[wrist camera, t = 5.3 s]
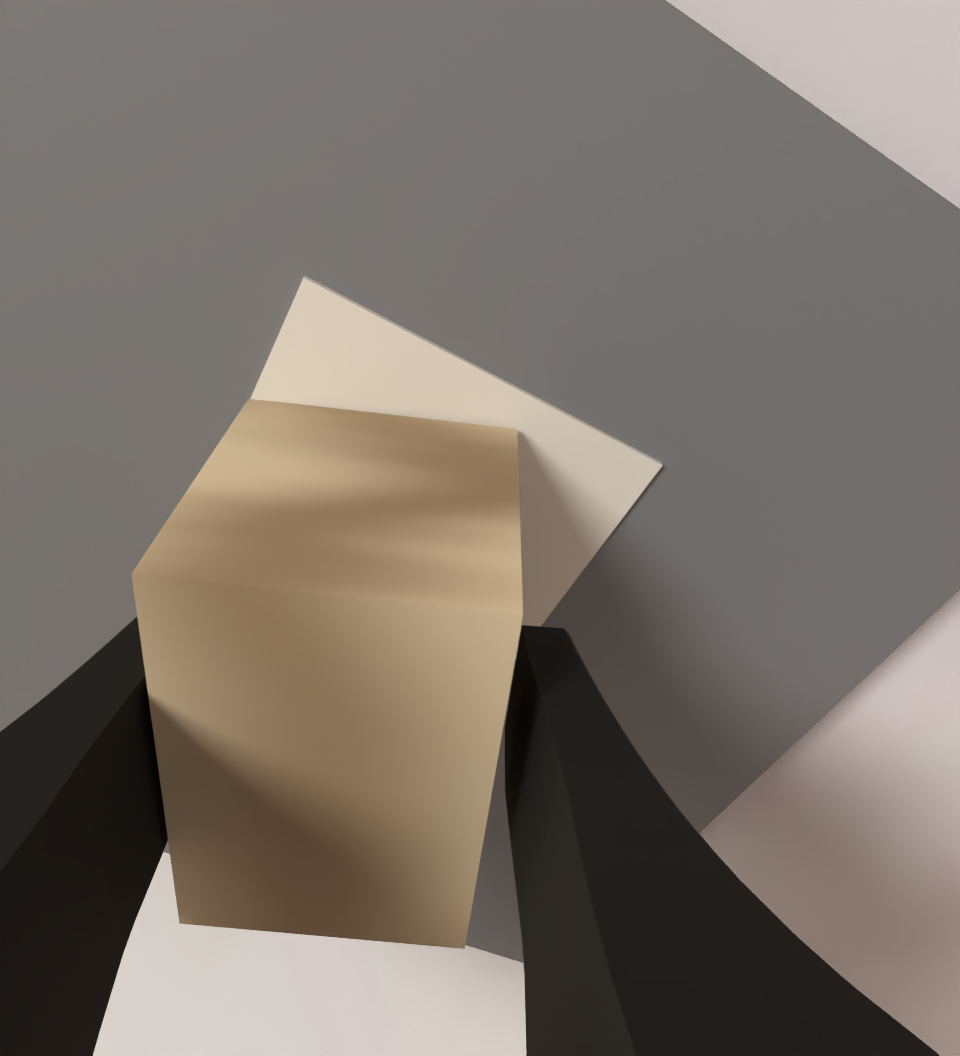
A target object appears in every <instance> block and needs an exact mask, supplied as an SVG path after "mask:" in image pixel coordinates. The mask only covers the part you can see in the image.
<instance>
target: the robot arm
mask: <svg viewBox="0 0 960 1056" xmlns="http://www.w3.org/2000/svg"><path fill="white" fill-rule="evenodd" d="M505 797H506V806H507V815H508V824H509V833H510V841H511V850H512V859H513V867H514V876H515V884H516V893H517V901H518V910H519V918H520V927H521V935H522V946H523V959H524V972H525V1009H526V1050H527V1056H939V1055H938V1053H936V1052H935V1051H934V1050H933V1049H931V1048H930V1047H929V1046H928V1045H926V1044H925V1043H924V1042H922V1041H921V1040H920V1039H919V1038H917V1037H916V1036H915V1035H914V1034H912V1033H911V1032H910V1031H909V1030H907V1029H906V1028H905V1027H904V1026H902V1025H901V1024H900V1023H899V1022H897V1021H896V1020H895V1019H894V1018H892V1017H891V1016H890V1015H889V1014H887V1013H886V1012H885V1011H883V1010H882V1009H881V1008H880V1007H878V1006H877V1005H876V1004H875V1003H873V1002H872V1001H871V1000H870V999H868V998H867V997H866V996H865V995H863V994H862V993H861V992H860V991H858V990H857V989H856V988H855V987H853V986H852V985H851V984H850V983H849V982H848V981H846V980H845V979H844V978H843V977H842V976H841V975H839V974H838V973H837V972H836V971H835V970H834V969H833V968H832V967H830V966H829V965H828V964H827V963H826V962H825V961H824V960H823V959H821V958H820V957H819V956H818V955H817V954H816V953H815V952H814V951H812V950H811V949H810V948H809V947H808V946H807V945H806V944H805V943H803V942H802V941H801V940H800V939H799V938H798V937H797V936H796V935H795V934H794V933H793V932H792V931H791V930H790V929H789V928H788V927H787V926H786V925H785V924H784V923H783V922H782V921H781V920H780V919H779V918H778V917H777V916H776V915H775V914H774V913H773V912H772V911H771V910H770V909H769V908H768V907H767V906H766V905H764V904H763V903H762V902H761V901H760V900H759V899H758V898H757V897H756V896H755V895H754V894H753V893H752V892H751V891H750V890H749V889H748V888H747V887H746V886H745V885H744V884H743V883H742V882H741V881H740V880H739V878H738V877H737V876H736V875H735V874H734V873H733V872H732V871H731V870H730V868H729V867H728V866H727V865H726V864H725V863H724V862H723V861H722V860H721V859H720V857H719V856H718V855H717V854H716V853H715V852H714V851H713V850H712V849H711V847H710V846H709V845H708V844H707V843H706V841H705V840H704V839H703V838H702V837H701V835H700V834H699V833H698V832H697V831H696V830H695V828H694V827H693V826H692V825H691V824H690V822H689V821H688V820H687V819H686V817H685V816H684V815H683V814H682V812H681V811H680V810H679V809H678V807H677V806H676V805H675V803H674V802H673V801H672V799H671V798H670V797H669V796H668V794H667V793H666V792H665V790H664V789H663V787H662V786H661V785H660V783H659V782H658V781H657V779H656V778H655V776H654V775H653V774H652V772H651V771H650V770H649V768H648V767H647V765H646V764H645V762H644V761H643V760H642V758H641V757H640V755H639V754H638V752H637V751H636V749H635V748H634V746H633V745H632V743H631V742H630V740H629V739H628V737H627V735H626V734H625V732H624V731H623V729H622V728H621V726H620V724H619V723H618V721H617V720H616V718H615V717H614V715H613V713H612V712H611V710H610V708H609V707H608V705H607V703H606V702H605V700H604V698H603V697H602V695H601V693H600V691H599V690H598V688H597V686H596V684H595V683H594V681H593V679H592V677H591V676H590V674H589V672H588V670H587V668H586V666H585V664H584V663H583V661H582V659H581V657H580V655H579V653H578V651H577V649H576V647H575V645H574V643H573V641H572V639H571V636H570V635H569V634H568V632H567V631H566V630H565V629H564V628H554V627H540V626H527V625H522V627H521V633H520V639H519V645H518V651H517V657H516V663H515V669H514V675H513V681H512V687H511V693H510V699H509V705H508V711H507V717H506V723H505ZM167 841H168V835H167V828H166V821H165V813H164V806H163V799H162V792H161V784H160V777H159V770H158V763H157V755H156V748H155V741H154V734H153V726H152V719H151V712H150V705H149V697H148V690H147V683H146V676H145V668H144V661H143V654H142V647H141V639H140V632H139V625H138V618H137V617H135V618H134V619H133V620H132V621H131V622H130V623H129V624H128V625H127V626H125V627H124V628H123V629H122V630H121V631H120V632H119V633H118V634H117V635H116V636H114V637H113V638H112V639H111V640H110V641H109V642H108V643H107V644H105V645H104V646H103V647H102V648H101V649H100V650H99V651H98V652H96V653H95V654H94V655H93V656H92V657H91V658H90V659H89V660H87V661H86V662H85V663H84V664H83V665H82V666H80V667H79V668H78V669H77V670H76V671H75V672H73V673H72V674H71V675H70V676H69V677H68V678H66V679H65V680H64V681H63V682H62V683H60V684H59V685H58V686H57V687H56V688H55V689H53V690H52V691H51V692H50V693H49V694H48V695H46V696H45V697H44V698H43V699H41V700H40V701H39V702H38V703H36V704H35V705H34V706H33V707H31V708H30V709H29V710H28V711H26V712H25V713H24V714H22V715H21V716H20V717H19V718H17V719H16V720H15V721H13V722H12V723H11V724H9V725H8V726H7V727H6V728H4V729H3V730H2V731H0V1056H93V1052H94V1049H95V1045H96V1042H97V1038H98V1035H99V1031H100V1028H101V1025H102V1021H103V1018H104V1015H105V1011H106V1008H107V1005H108V1001H109V998H110V995H111V991H112V988H113V985H114V982H115V978H116V975H117V972H118V968H119V965H120V962H121V958H122V955H123V952H124V950H125V947H126V944H127V941H128V939H129V936H130V933H131V930H132V928H133V925H134V922H135V919H136V917H137V915H138V912H139V910H140V907H141V905H142V902H143V900H144V897H145V895H146V893H147V890H148V888H149V885H150V883H151V880H152V878H153V876H154V873H155V871H156V868H157V866H158V863H159V861H160V859H161V856H162V854H163V851H164V849H165V846H166V844H167Z"/></svg>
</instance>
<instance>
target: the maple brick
mask: <svg viewBox="0 0 960 1056" xmlns="http://www.w3.org/2000/svg"><path fill="white" fill-rule="evenodd" d="M132 581H133V589H134V596H135V603H136V610H137V618H138V625H139V632H140V639H141V647H142V654H143V661H144V668H145V676H146V683H147V690H148V697H149V705H150V712H151V719H152V726H153V734H154V741H155V748H156V755H157V763H158V770H159V777H160V784H161V792H162V799H163V806H164V813H165V821H166V828H167V835H168V842H169V850H170V857H171V864H172V871H173V879H174V886H175V893H176V900H177V907H178V915H179V922H180V923H181V924H192V925H204V926H215V927H226V928H238V929H249V930H260V931H271V932H283V933H294V934H305V935H317V936H328V937H339V938H350V939H362V940H373V941H384V942H396V943H407V944H418V945H429V946H441V947H452V948H463V949H465V943H466V938H467V932H468V926H469V920H470V915H471V909H472V903H473V898H474V892H475V886H476V880H477V875H478V869H479V863H480V858H481V852H482V846H483V840H484V835H485V829H486V823H487V818H488V812H489V806H490V800H491V795H492V789H493V783H494V778H495V772H496V766H497V760H498V755H499V749H500V743H501V738H502V732H503V726H504V720H505V715H506V709H507V703H508V698H509V692H510V686H511V680H512V675H513V669H514V663H515V658H516V652H517V646H518V640H519V635H520V629H521V623H522V618H523V596H522V564H521V532H520V500H519V468H518V436H517V429H515V428H506V427H497V426H488V425H479V424H470V423H461V422H453V421H444V420H435V419H426V418H417V417H408V416H399V415H390V414H381V413H372V412H364V411H355V410H346V409H337V408H328V407H319V406H310V405H301V404H292V403H283V402H275V401H265V400H255V399H248V400H247V402H246V403H245V405H244V406H243V408H242V409H241V411H240V412H239V414H238V415H237V417H236V418H235V420H234V421H233V423H232V424H231V426H230V427H229V429H228V430H227V432H226V433H225V435H224V436H223V438H222V439H221V441H220V442H219V443H218V445H217V446H216V448H215V449H214V451H213V452H212V454H211V455H210V457H209V458H208V460H207V461H206V463H205V464H204V466H203V467H202V469H201V470H200V472H199V473H198V475H197V476H196V478H195V479H194V481H193V482H192V484H191V485H190V487H189V488H188V490H187V491H186V493H185V494H184V496H183V497H182V499H181V500H180V502H179V503H178V505H177V506H176V508H175V509H174V511H173V512H172V514H171V515H170V517H169V518H168V520H167V521H166V523H165V524H164V526H163V527H162V529H161V530H160V532H159V533H158V535H157V536H156V538H155V539H154V541H153V542H152V544H151V545H150V547H149V548H148V550H147V551H146V553H145V554H144V556H143V557H142V559H141V560H140V562H139V563H138V565H137V566H136V568H135V569H134V571H133V572H132Z"/></svg>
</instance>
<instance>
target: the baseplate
mask: <svg viewBox="0 0 960 1056" xmlns="http://www.w3.org/2000/svg"><path fill="white" fill-rule="evenodd" d="M248 399H255V400H265V401H275V402H283V403H292V404H301V405H310V406H319V407H328V408H337V409H346V410H355V411H364V412H372V413H381V414H390V415H399V416H408V417H417V418H426V419H435V420H444V421H453V422H461V423H470V424H479V425H488V426H497V427H506V428H515V429H517V436H518V468H519V500H520V532H521V564H522V596H523V618H522V623H521V627H522V625H527V626H540V627H554V628H564V629H565V630H566V631H567V632H568V634H569V635H570V636H571V639H572V641H573V643H574V645H575V647H576V649H577V651H578V653H579V655H580V657H581V659H582V661H583V663H584V664H585V666H586V668H587V670H588V672H589V674H590V676H591V677H592V679H593V681H594V683H595V684H596V686H597V688H598V690H599V691H600V693H601V695H602V697H603V698H604V700H605V702H606V703H607V705H608V707H609V708H610V710H611V712H612V713H613V715H614V717H615V718H616V720H617V721H618V723H619V724H620V726H621V728H622V729H623V731H624V732H625V734H626V735H627V737H628V739H629V740H630V742H631V743H632V745H633V746H634V748H635V749H636V751H637V752H638V754H639V755H640V757H641V758H642V760H643V761H644V762H645V764H646V765H647V767H648V768H649V770H650V771H651V772H652V774H653V775H654V776H655V778H656V779H657V781H658V782H659V783H660V785H661V786H662V787H663V789H664V790H665V792H666V793H667V794H668V796H669V797H670V798H671V799H672V801H673V802H674V803H675V805H676V806H677V807H678V809H679V810H680V811H681V812H682V814H683V815H684V816H685V817H686V819H687V820H688V821H689V822H690V824H691V825H692V826H693V827H694V828H695V830H696V831H697V832H698V833H699V832H700V831H701V830H702V829H704V828H705V827H706V826H707V825H708V824H709V823H710V822H711V821H712V820H713V819H714V818H715V817H716V816H717V815H719V814H720V813H721V812H722V811H723V810H724V809H725V808H726V807H727V806H728V805H729V804H730V803H731V802H732V801H733V800H735V799H736V798H737V797H738V796H739V795H740V794H741V793H742V792H743V791H744V790H745V789H746V788H747V787H748V786H750V785H751V784H752V783H753V782H754V781H755V780H756V779H757V778H758V777H759V776H760V775H761V774H762V773H763V772H764V771H766V770H767V769H768V768H769V767H770V766H771V765H772V764H773V763H774V762H775V761H776V760H777V759H778V758H779V757H781V756H782V755H783V754H784V753H785V752H786V751H787V750H788V749H789V748H790V747H791V746H792V745H793V744H794V743H795V742H797V741H798V740H799V739H800V738H801V737H802V736H803V735H804V734H805V733H806V732H807V731H808V730H809V729H810V728H812V727H813V726H814V725H815V724H816V723H817V722H818V721H819V720H820V719H821V718H822V717H823V716H824V715H825V714H826V713H828V712H829V711H830V710H831V709H832V708H833V707H834V706H835V705H836V704H837V703H838V702H839V701H840V700H841V699H843V698H844V697H845V696H846V695H847V694H848V693H849V692H850V691H851V690H852V689H853V688H854V687H855V686H856V685H857V684H859V683H860V682H861V681H862V680H863V679H864V678H865V677H866V676H867V675H868V674H869V673H870V672H871V671H872V670H874V669H875V668H876V667H877V666H878V665H879V664H880V663H881V662H882V661H883V660H884V659H885V658H886V657H887V656H888V655H890V654H891V653H892V652H893V651H894V650H895V649H896V648H897V647H898V646H899V645H900V644H901V643H902V642H903V641H905V640H906V639H907V638H908V637H909V636H910V635H911V634H912V633H913V632H914V631H915V630H916V629H917V628H918V627H919V626H921V625H922V624H923V623H924V622H925V621H926V620H927V619H928V618H929V617H930V616H931V615H932V614H933V613H934V612H936V611H937V610H938V609H939V608H940V607H941V606H942V605H943V604H944V603H945V602H946V601H947V600H948V599H949V598H950V597H952V596H953V595H954V594H955V593H956V592H957V591H958V590H959V589H960V209H959V208H958V207H956V206H955V205H953V204H952V203H951V202H949V201H948V200H946V199H945V198H944V197H942V196H941V195H939V194H938V193H937V192H935V191H934V190H932V189H931V188H929V187H928V186H927V185H925V184H924V183H922V182H921V181H920V180H918V179H917V178H915V177H914V176H913V175H911V174H910V173H908V172H907V171H905V170H904V169H903V168H901V167H900V166H898V165H897V164H896V163H894V162H893V161H891V160H890V159H889V158H887V157H886V156H884V155H883V154H882V153H880V152H879V151H877V150H876V149H874V148H873V147H872V146H870V145H869V144H867V143H866V142H865V141H863V140H862V139H860V138H859V137H858V136H856V135H855V134H853V133H852V132H850V131H849V130H848V129H846V128H845V127H843V126H842V125H841V124H839V123H838V122H836V121H835V120H834V119H832V118H831V117H829V116H828V115H826V114H825V113H824V112H822V111H821V110H819V109H818V108H817V107H815V106H814V105H812V104H811V103H810V102H808V101H807V100H805V99H804V98H802V97H801V96H800V95H798V94H797V93H795V92H794V91H793V90H791V89H790V88H788V87H787V86H786V85H784V84H783V83H781V82H780V81H778V80H777V79H776V78H774V77H773V76H771V75H770V74H769V73H767V72H766V71H764V70H763V69H762V68H760V67H759V66H757V65H756V64H755V63H753V62H752V61H750V60H749V59H747V58H746V57H745V56H743V55H742V54H740V53H739V52H738V51H736V50H735V49H733V48H732V47H731V46H729V45H728V44H726V43H725V42H723V41H722V40H721V39H719V38H718V37H716V36H715V35H714V34H712V33H711V32H709V31H708V30H707V29H705V28H704V27H702V26H701V25H699V24H698V23H697V22H695V21H694V20H692V19H691V18H690V17H688V16H687V15H685V14H684V13H683V12H681V11H680V10H678V9H677V8H675V7H674V6H673V5H671V4H670V3H668V2H667V1H666V0H0V731H2V730H3V729H4V728H6V727H7V726H8V725H9V724H11V723H12V722H13V721H15V720H16V719H17V718H19V717H20V716H21V715H22V714H24V713H25V712H26V711H28V710H29V709H30V708H31V707H33V706H34V705H35V704H36V703H38V702H39V701H40V700H41V699H43V698H44V697H45V696H46V695H48V694H49V693H50V692H51V691H52V690H53V689H55V688H56V687H57V686H58V685H59V684H60V683H62V682H63V681H64V680H65V679H66V678H68V677H69V676H70V675H71V674H72V673H73V672H75V671H76V670H77V669H78V668H79V667H80V666H82V665H83V664H84V663H85V662H86V661H87V660H89V659H90V658H91V657H92V656H93V655H94V654H95V653H96V652H98V651H99V650H100V649H101V648H102V647H103V646H104V645H105V644H107V643H108V642H109V641H110V640H111V639H112V638H113V637H114V636H116V635H117V634H118V633H119V632H120V631H121V630H122V629H123V628H124V627H125V626H127V625H128V624H129V623H130V622H131V621H132V620H133V619H134V618H135V617H137V610H136V603H135V596H134V589H133V581H132V572H133V571H134V569H135V568H136V566H137V565H138V563H139V562H140V560H141V559H142V557H143V556H144V554H145V553H146V551H147V550H148V548H149V547H150V545H151V544H152V542H153V541H154V539H155V538H156V536H157V535H158V533H159V532H160V530H161V529H162V527H163V526H164V524H165V523H166V521H167V520H168V518H169V517H170V515H171V514H172V512H173V511H174V509H175V508H176V506H177V505H178V503H179V502H180V500H181V499H182V497H183V496H184V494H185V493H186V491H187V490H188V488H189V487H190V485H191V484H192V482H193V481H194V479H195V478H196V476H197V475H198V473H199V472H200V470H201V469H202V467H203V466H204V464H205V463H206V461H207V460H208V458H209V457H210V455H211V454H212V452H213V451H214V449H215V448H216V446H217V445H218V443H219V442H220V441H221V439H222V438H223V436H224V435H225V433H226V432H227V430H228V429H229V427H230V426H231V424H232V423H233V421H234V420H235V418H236V417H237V415H238V414H239V412H240V411H241V409H242V408H243V406H244V405H245V403H246V402H247V400H248ZM520 633H521V629H520ZM519 639H520V635H519ZM518 645H519V640H518ZM517 651H518V646H517ZM516 657H517V652H516ZM515 663H516V658H515ZM515 663H514V669H515ZM514 669H513V675H514ZM513 675H512V680H511V686H510V692H509V698H508V703H507V709H506V715H505V720H504V726H503V732H502V738H501V743H500V749H499V755H498V760H497V766H496V772H495V778H494V783H493V789H492V795H491V800H490V806H489V812H488V818H487V823H486V829H485V835H484V840H483V846H482V852H481V858H480V863H479V869H478V875H477V880H476V886H475V892H474V898H473V903H472V909H471V915H470V920H469V926H468V932H467V938H466V943H465V945H468V946H471V947H474V948H477V949H481V950H484V951H487V952H490V953H494V954H497V955H500V956H503V957H507V958H510V959H513V960H516V961H520V962H523V963H524V959H523V946H522V935H521V927H520V918H519V910H518V901H517V893H516V884H515V876H514V867H513V859H512V850H511V841H510V833H509V824H508V815H507V806H506V797H505V723H506V717H507V711H508V705H509V699H510V693H511V687H512V681H513ZM163 852H166V853H169V854H170V850H169V842H168V841H167V844H166V846H165V849H164V851H163Z"/></svg>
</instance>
